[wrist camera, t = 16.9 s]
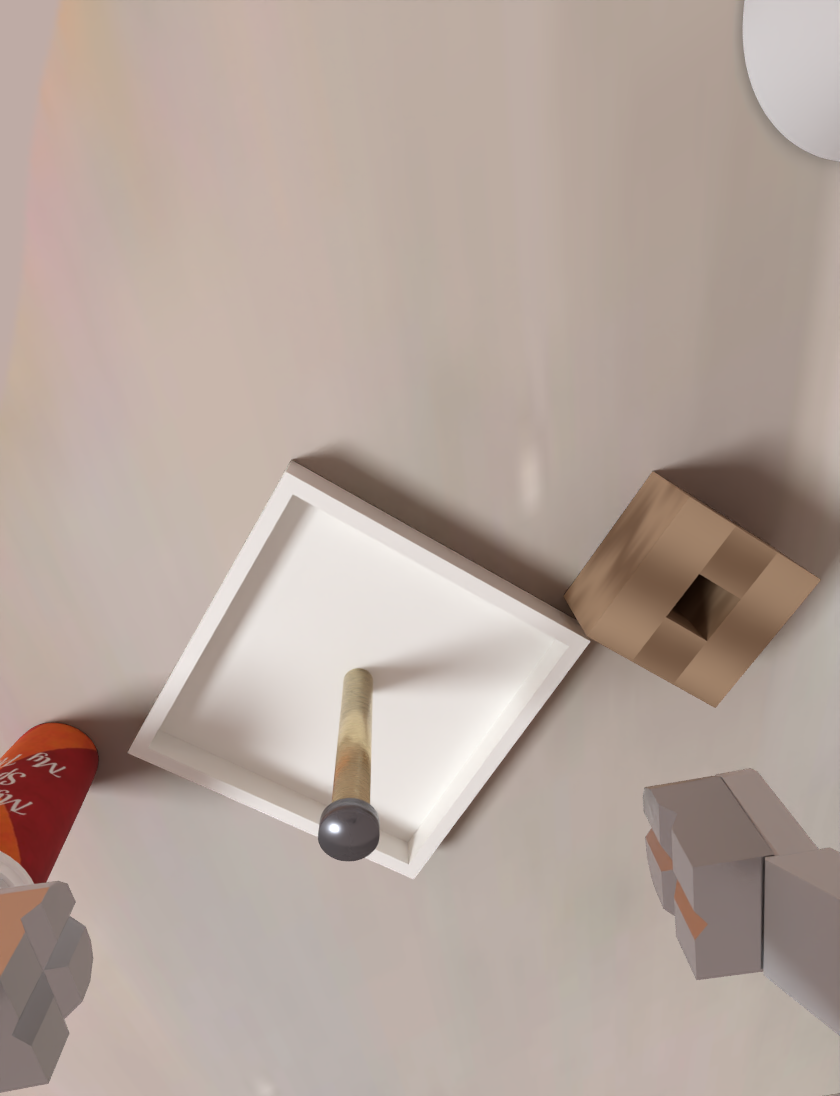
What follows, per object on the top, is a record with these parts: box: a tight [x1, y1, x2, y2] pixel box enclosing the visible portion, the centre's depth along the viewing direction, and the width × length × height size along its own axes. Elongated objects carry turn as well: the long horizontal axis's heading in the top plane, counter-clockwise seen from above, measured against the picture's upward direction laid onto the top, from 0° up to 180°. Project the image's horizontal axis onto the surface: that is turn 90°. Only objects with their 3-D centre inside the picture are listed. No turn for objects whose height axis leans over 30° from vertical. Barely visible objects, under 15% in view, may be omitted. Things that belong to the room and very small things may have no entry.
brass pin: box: [318, 668, 380, 861], centre depth 43 cm, size 3×3×15 cm
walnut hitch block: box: [564, 472, 821, 708], centre depth 47 cm, size 10×10×6 cm
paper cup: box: [0, 723, 99, 889], centre depth 46 cm, size 8×8×14 cm
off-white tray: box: [128, 460, 591, 879], centre depth 50 cm, size 22×22×3 cm
